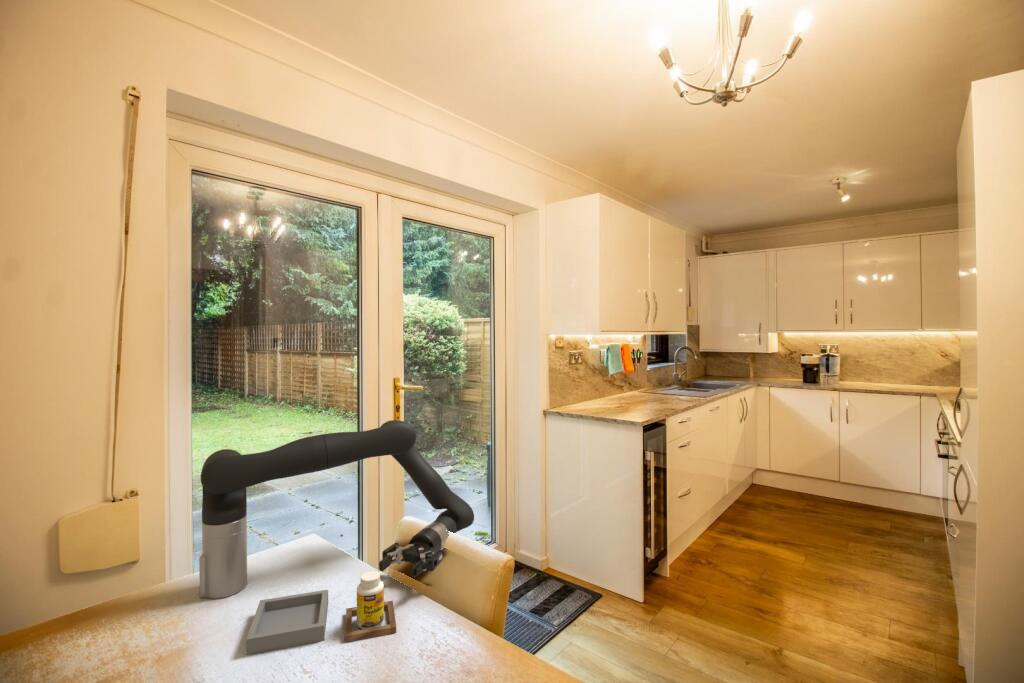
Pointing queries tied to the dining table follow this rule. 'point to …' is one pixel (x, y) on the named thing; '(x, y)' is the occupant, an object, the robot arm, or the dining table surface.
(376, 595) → the supplement bottle
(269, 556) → the dining table surface
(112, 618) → the dining table surface
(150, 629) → the dining table surface
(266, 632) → the tray
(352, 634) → the holder frame
